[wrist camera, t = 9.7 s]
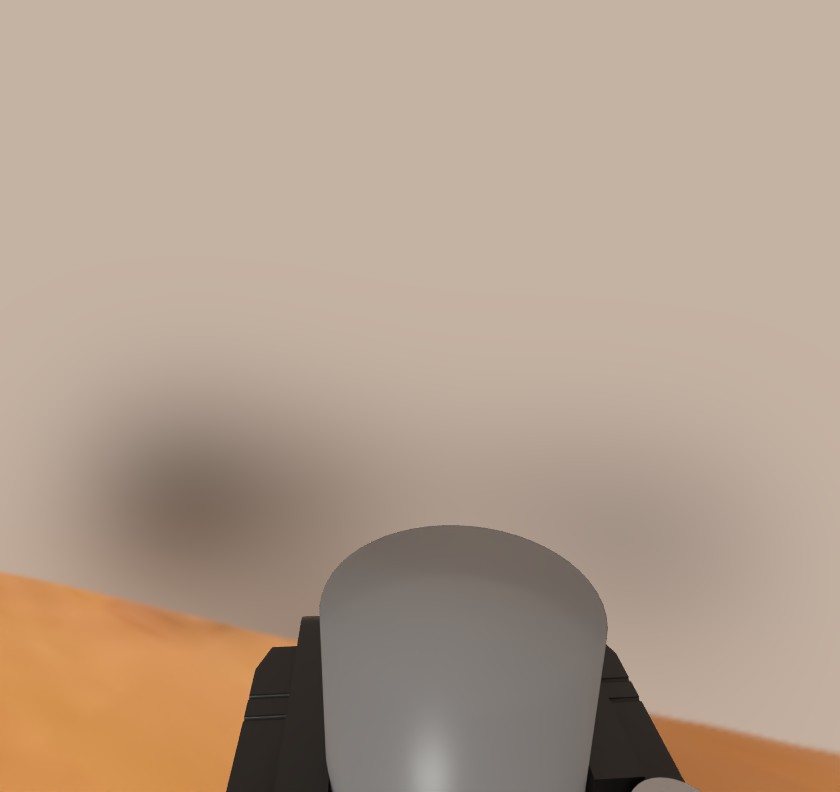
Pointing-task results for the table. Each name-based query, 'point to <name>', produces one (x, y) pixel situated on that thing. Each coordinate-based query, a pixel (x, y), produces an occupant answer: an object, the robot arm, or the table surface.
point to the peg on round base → (459, 665)
